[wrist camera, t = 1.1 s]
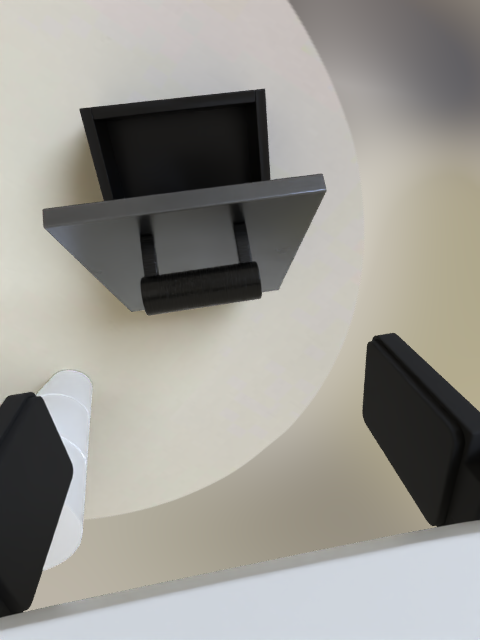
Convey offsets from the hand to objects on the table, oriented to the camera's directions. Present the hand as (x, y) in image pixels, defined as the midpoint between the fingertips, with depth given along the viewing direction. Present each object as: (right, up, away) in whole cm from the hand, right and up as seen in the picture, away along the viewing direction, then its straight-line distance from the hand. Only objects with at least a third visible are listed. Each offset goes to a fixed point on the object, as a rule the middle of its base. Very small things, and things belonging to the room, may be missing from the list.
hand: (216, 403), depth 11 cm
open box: (-4, +14, +25) cm, 29 cm away
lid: (-2, +7, +15) cm, 17 cm away
